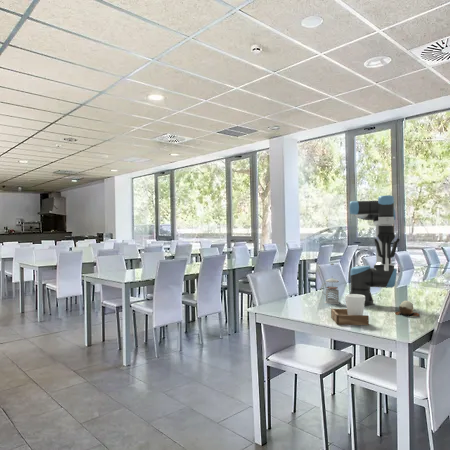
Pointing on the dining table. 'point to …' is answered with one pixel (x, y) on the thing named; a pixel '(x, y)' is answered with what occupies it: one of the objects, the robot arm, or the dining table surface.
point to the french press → (333, 290)
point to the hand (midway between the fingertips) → (386, 270)
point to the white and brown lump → (406, 309)
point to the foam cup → (355, 304)
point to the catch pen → (348, 318)
